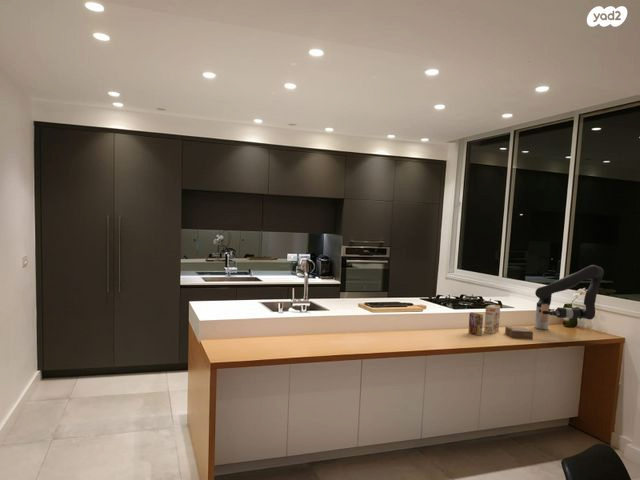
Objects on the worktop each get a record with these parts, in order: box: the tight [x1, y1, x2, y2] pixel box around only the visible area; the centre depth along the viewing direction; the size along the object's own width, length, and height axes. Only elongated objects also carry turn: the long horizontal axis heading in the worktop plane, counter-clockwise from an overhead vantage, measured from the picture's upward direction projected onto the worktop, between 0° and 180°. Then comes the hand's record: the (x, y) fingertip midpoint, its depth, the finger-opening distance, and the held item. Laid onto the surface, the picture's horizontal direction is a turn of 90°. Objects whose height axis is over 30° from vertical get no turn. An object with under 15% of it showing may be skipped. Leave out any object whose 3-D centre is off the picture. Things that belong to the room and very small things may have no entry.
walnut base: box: [504, 326, 534, 340], centre depth 326 cm, size 14×14×5 cm
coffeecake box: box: [483, 304, 501, 335], centre depth 336 cm, size 15×7×20 cm, turn 143°
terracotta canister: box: [540, 304, 550, 323], centre depth 325 cm, size 5×5×13 cm
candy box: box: [467, 312, 484, 337], centre depth 325 cm, size 9×4×15 cm, turn 39°
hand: (541, 311), depth 325 cm, fingers closed on terracotta canister, 4 cm apart
